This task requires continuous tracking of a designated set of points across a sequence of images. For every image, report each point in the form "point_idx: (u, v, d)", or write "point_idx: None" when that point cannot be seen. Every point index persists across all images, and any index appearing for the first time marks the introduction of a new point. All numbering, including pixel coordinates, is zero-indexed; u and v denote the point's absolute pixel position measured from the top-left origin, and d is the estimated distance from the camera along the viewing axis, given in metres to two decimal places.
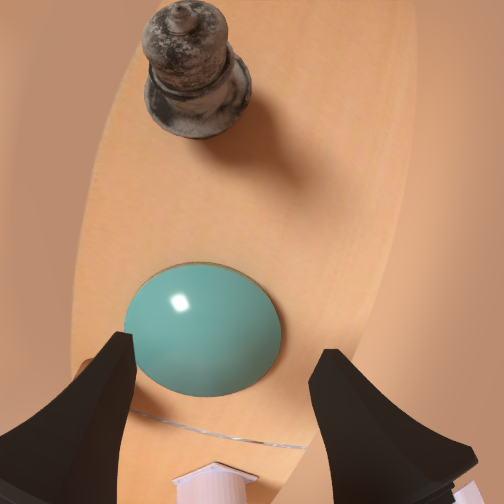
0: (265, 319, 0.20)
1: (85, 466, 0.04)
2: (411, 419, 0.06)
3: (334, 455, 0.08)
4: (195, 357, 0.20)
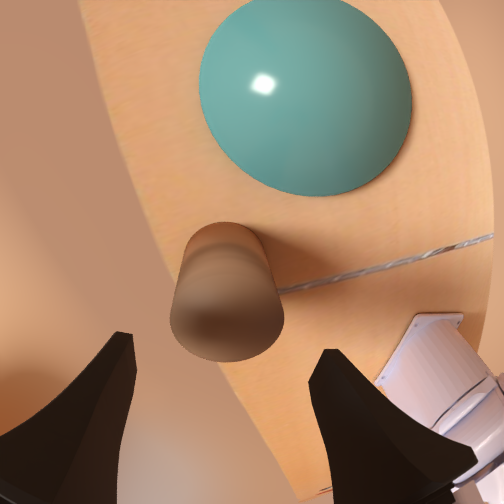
0: (364, 27, 0.11)
1: (85, 466, 0.04)
2: (411, 419, 0.06)
3: (334, 455, 0.08)
4: (324, 113, 0.13)
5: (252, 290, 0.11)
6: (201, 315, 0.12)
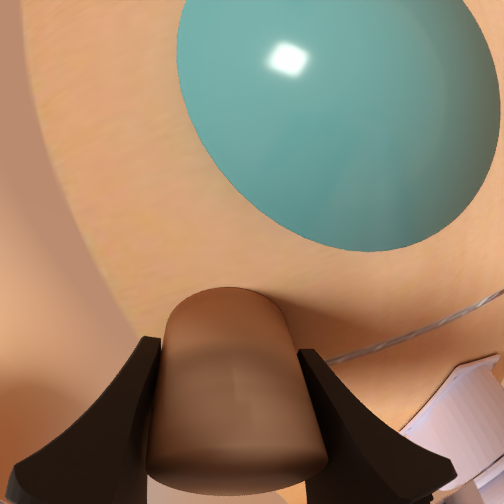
0: None
1: (127, 477, 0.04)
2: (386, 426, 0.06)
3: None
4: (400, 111, 0.07)
5: (283, 453, 0.05)
6: (194, 473, 0.05)
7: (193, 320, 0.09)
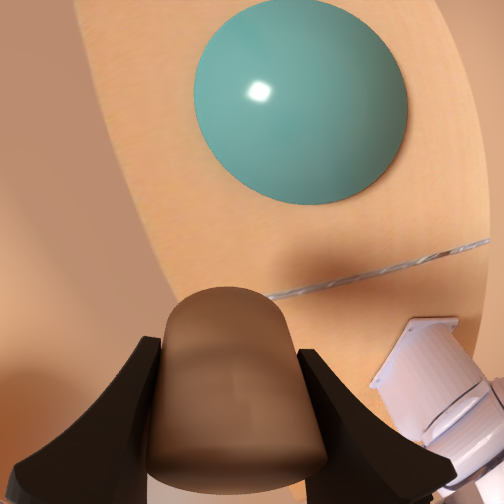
0: (360, 34, 0.11)
1: (127, 477, 0.04)
2: (386, 426, 0.06)
3: None
4: (318, 122, 0.13)
5: (282, 451, 0.05)
6: (194, 472, 0.05)
7: (193, 319, 0.09)
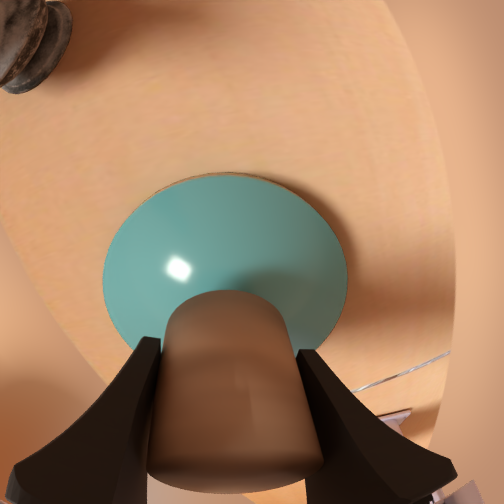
0: (289, 218, 0.11)
1: (127, 477, 0.04)
2: (386, 426, 0.06)
3: None
4: None
5: (281, 456, 0.05)
6: (194, 473, 0.06)
7: (195, 322, 0.09)
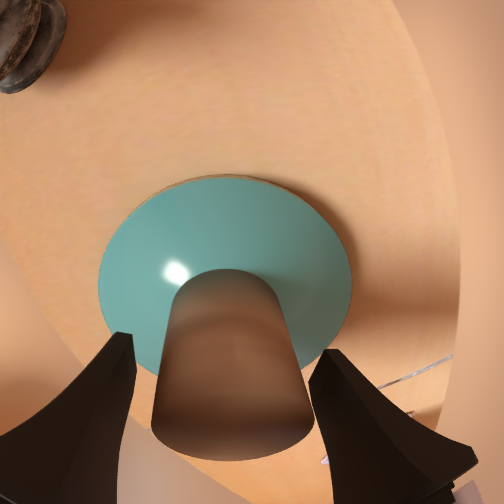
0: (292, 222, 0.11)
1: (85, 466, 0.04)
2: (411, 419, 0.06)
3: (334, 455, 0.08)
4: None
5: (274, 404, 0.07)
6: (195, 427, 0.07)
7: (198, 294, 0.10)
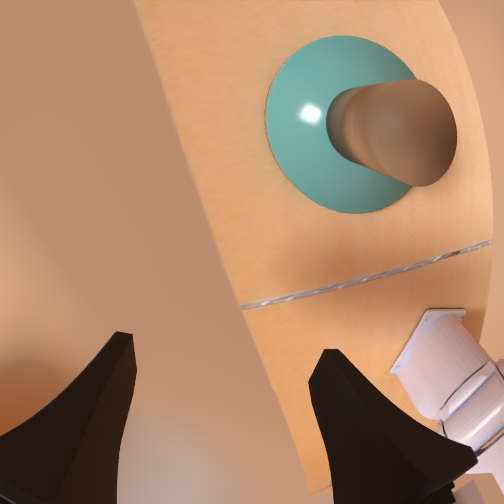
0: (398, 70, 0.14)
1: (85, 466, 0.04)
2: (411, 419, 0.06)
3: (334, 455, 0.08)
4: None
5: (440, 103, 0.09)
6: (404, 116, 0.09)
7: (361, 86, 0.13)
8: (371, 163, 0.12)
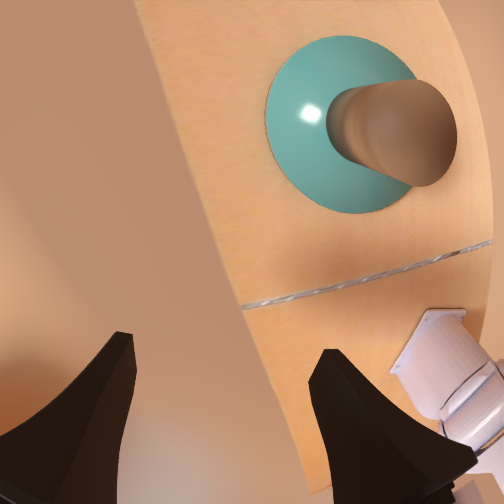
0: (398, 70, 0.14)
1: (85, 466, 0.04)
2: (411, 419, 0.06)
3: (334, 455, 0.08)
4: None
5: (440, 103, 0.09)
6: (404, 116, 0.09)
7: (361, 86, 0.13)
8: (371, 163, 0.12)
